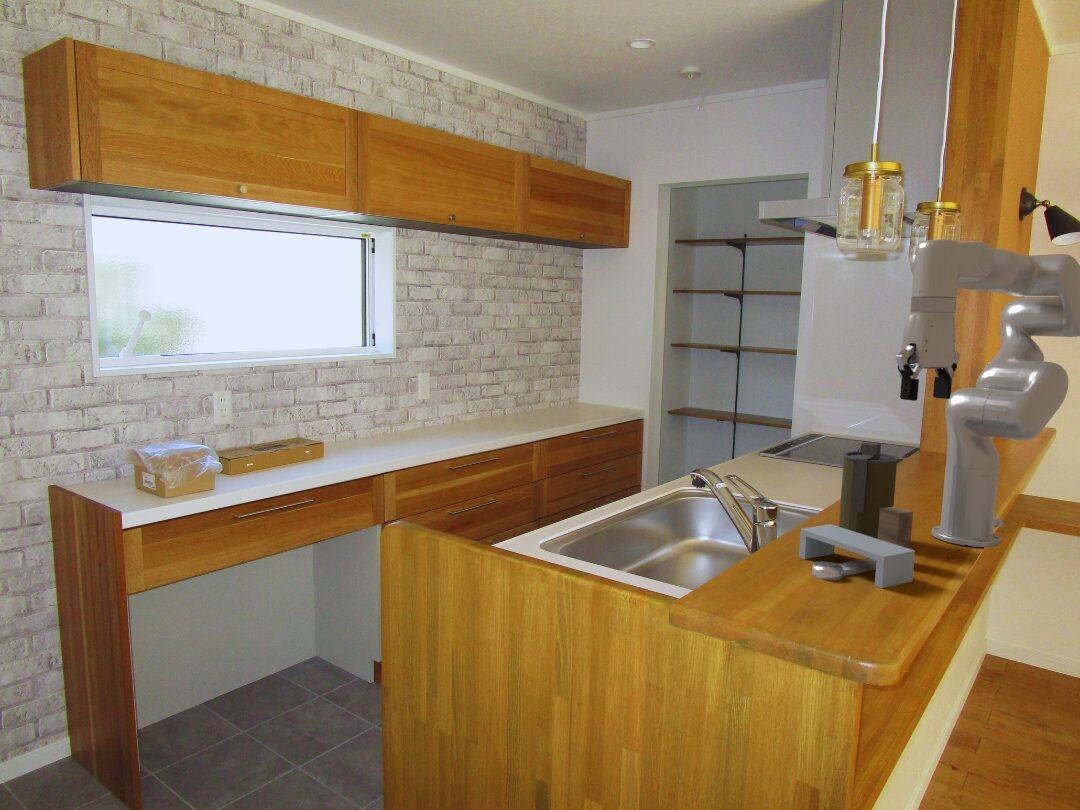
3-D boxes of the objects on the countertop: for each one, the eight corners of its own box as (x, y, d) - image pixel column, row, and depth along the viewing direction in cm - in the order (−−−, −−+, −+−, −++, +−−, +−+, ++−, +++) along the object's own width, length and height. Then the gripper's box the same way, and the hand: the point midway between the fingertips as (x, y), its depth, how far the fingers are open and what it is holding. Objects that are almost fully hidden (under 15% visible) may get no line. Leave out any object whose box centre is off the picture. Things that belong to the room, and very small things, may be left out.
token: (820, 569, 136) (820, 559, 135) (847, 576, 132) (847, 566, 132) (806, 576, 132) (807, 566, 132) (834, 584, 129) (834, 573, 128)
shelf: (828, 551, 146) (830, 524, 145) (912, 581, 130) (914, 550, 129) (798, 557, 142) (800, 528, 141) (881, 588, 126) (884, 556, 126)
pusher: (889, 557, 143) (894, 506, 142) (908, 563, 140) (913, 511, 138) (829, 569, 135) (833, 515, 134) (848, 576, 132) (852, 521, 131)
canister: (846, 528, 163) (853, 437, 160) (897, 538, 156) (905, 443, 154) (829, 539, 154) (836, 443, 152) (883, 550, 148) (891, 450, 145)
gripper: (942, 308, 147) (935, 395, 149) (884, 306, 139) (877, 398, 141) (980, 308, 141) (972, 399, 143) (921, 306, 132) (913, 403, 134)
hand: (925, 399), depth 142 cm, fingers open, 9 cm apart
